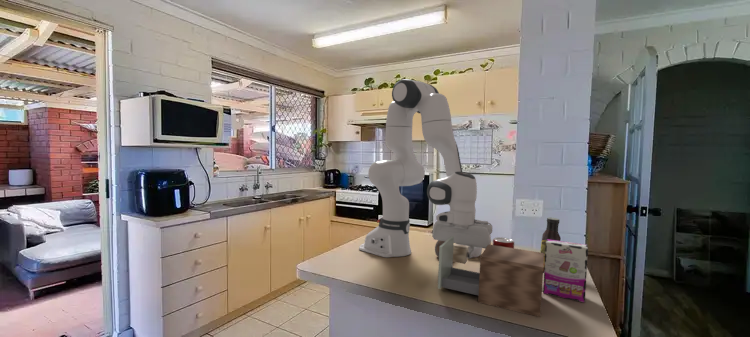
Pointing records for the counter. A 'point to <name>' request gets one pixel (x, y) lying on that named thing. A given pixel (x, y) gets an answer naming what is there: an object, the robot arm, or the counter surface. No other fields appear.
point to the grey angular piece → (455, 272)
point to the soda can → (503, 242)
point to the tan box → (511, 279)
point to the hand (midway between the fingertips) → (459, 255)
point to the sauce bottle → (550, 234)
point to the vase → (438, 247)
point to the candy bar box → (565, 270)
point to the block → (460, 253)
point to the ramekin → (475, 251)
